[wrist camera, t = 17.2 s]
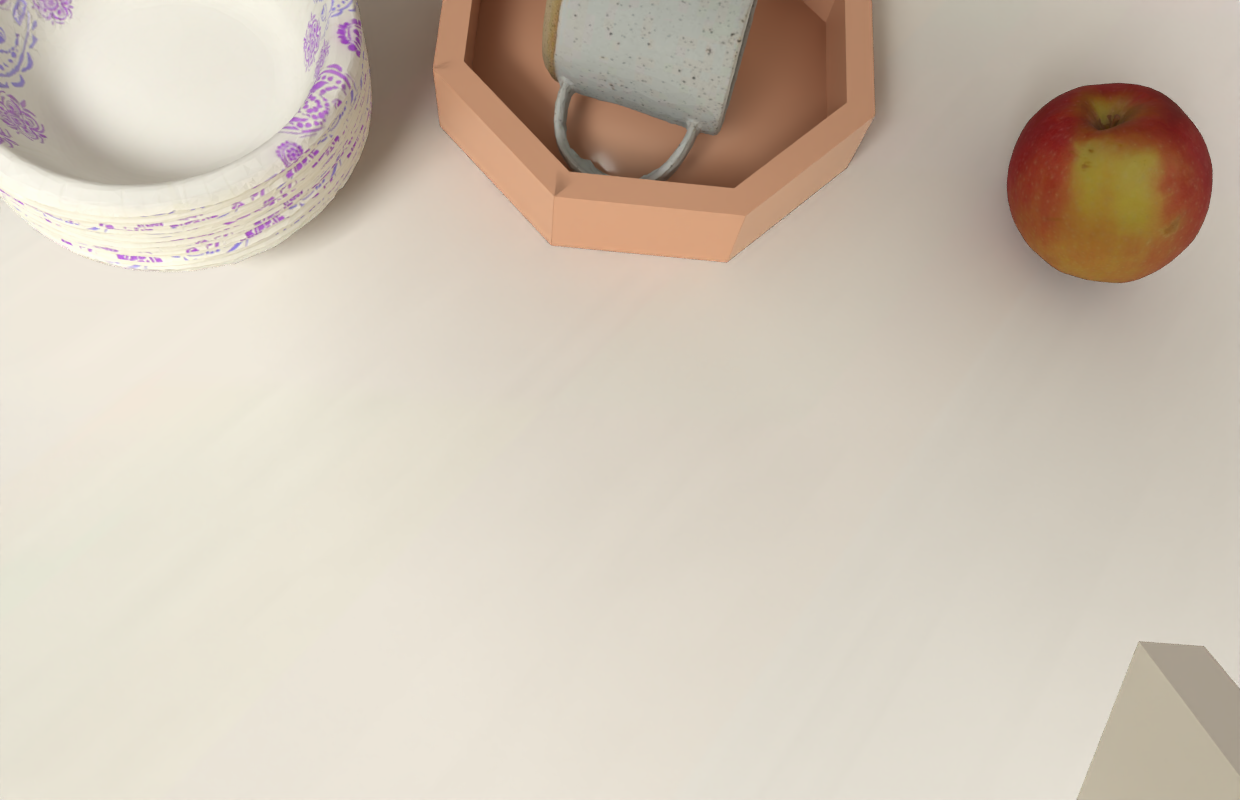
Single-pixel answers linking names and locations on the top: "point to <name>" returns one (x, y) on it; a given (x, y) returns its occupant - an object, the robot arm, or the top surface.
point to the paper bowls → (178, 123)
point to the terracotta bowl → (659, 130)
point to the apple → (1109, 182)
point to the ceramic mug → (647, 63)
